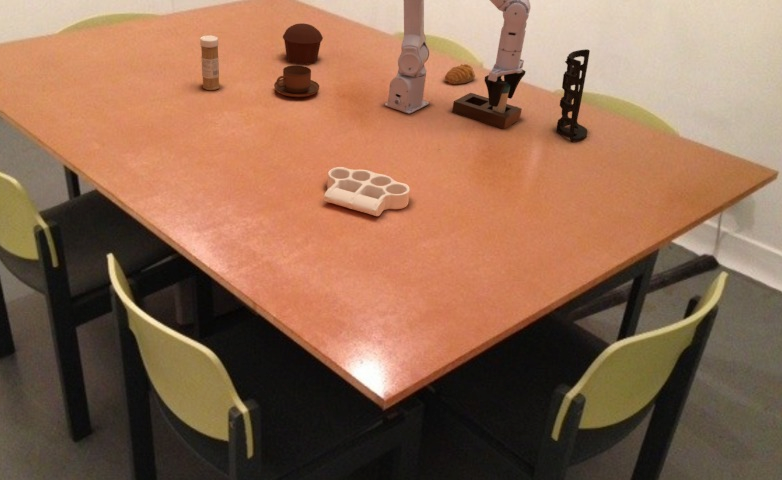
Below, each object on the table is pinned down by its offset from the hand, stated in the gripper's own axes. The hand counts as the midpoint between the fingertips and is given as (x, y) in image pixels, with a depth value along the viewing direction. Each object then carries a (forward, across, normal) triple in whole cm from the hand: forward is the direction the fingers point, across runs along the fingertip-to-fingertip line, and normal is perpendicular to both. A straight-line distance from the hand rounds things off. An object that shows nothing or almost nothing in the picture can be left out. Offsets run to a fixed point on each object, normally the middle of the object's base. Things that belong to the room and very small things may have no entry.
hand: (500, 101), depth 195 cm
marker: (+5, 0, 0) cm, 5 cm away
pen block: (+5, 0, +3) cm, 6 cm away
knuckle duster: (+5, -58, 0) cm, 58 cm away
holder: (+5, +6, -17) cm, 19 cm away
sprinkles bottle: (+5, -38, +66) cm, 76 cm away
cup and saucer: (+5, -24, +48) cm, 54 cm away
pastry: (+5, +18, +22) cm, 28 cm away
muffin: (+5, -2, +64) cm, 64 cm away
